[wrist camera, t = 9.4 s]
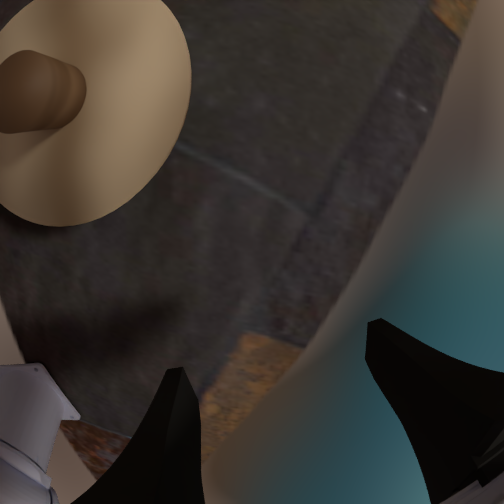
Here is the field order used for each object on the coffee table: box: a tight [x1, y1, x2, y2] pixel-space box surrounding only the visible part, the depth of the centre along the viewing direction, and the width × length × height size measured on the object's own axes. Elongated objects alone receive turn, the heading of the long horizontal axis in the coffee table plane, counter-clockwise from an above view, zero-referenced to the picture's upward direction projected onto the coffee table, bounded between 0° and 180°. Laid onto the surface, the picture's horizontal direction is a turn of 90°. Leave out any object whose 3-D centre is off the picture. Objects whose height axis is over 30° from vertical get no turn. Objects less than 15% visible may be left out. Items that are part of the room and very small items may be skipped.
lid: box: [0, 0, 192, 227], centre depth 9 cm, size 12×12×4 cm
